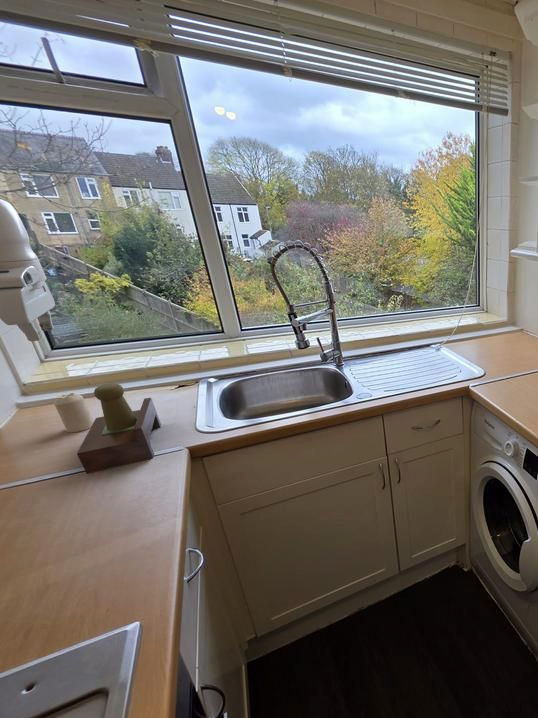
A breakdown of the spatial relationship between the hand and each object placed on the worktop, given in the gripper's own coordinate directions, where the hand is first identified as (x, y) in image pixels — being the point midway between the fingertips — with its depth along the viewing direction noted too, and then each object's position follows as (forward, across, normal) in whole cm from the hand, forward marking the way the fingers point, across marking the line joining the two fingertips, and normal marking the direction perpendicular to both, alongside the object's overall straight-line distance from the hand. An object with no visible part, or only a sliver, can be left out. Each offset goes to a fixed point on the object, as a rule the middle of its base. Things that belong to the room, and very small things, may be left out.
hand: (42, 335), depth 94 cm
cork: (+24, +6, +8) cm, 26 cm away
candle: (+29, -12, -4) cm, 32 cm away
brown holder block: (+29, +7, +8) cm, 31 cm away
